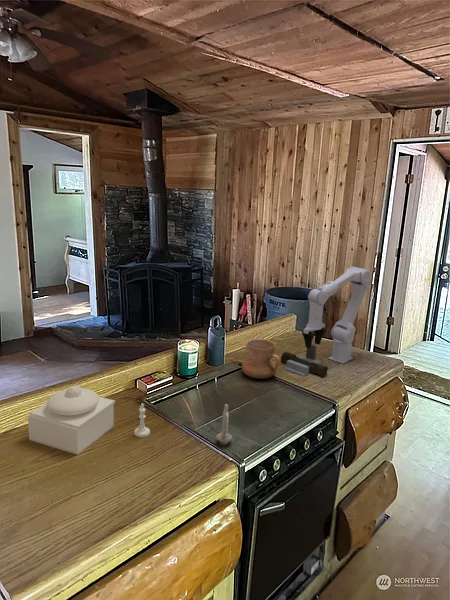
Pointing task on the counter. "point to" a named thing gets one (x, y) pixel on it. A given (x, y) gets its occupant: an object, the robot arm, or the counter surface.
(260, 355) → the ceramic jug
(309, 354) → the free jaw
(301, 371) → the fixed jaw
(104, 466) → the counter surface
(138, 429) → the chess piece
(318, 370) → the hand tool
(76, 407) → the butter dish
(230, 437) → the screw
